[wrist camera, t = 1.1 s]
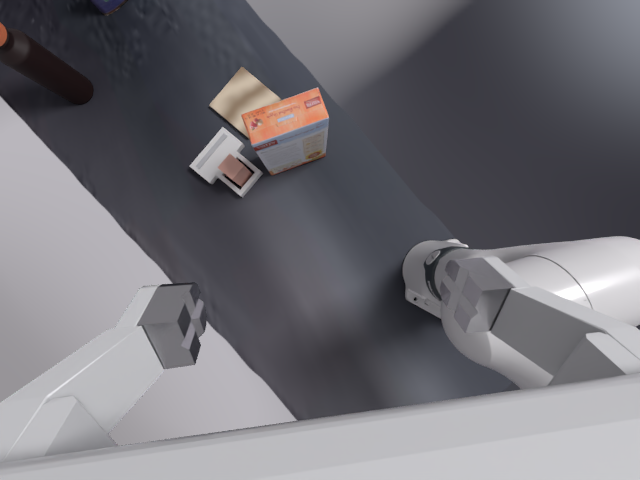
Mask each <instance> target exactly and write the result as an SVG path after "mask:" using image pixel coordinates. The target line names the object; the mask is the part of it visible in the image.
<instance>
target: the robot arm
mask: <svg viewBox="0 0 640 480" xmlns="http://www.w3.org/2000/svg"><path fill="white" fill-rule="evenodd" d="M403 278H404V281H405V285H406V289H405V298H406V300H407V301H409V302H411V303H413V304H415V305H416V306H418V307H420V308H422V309H424V310H425V311H427V312H429V313H431V314H433V315H435V316H436V317H438V318H440V319H441V321H442V325H443V328H444V330H445V332H446V334H447V336H448V338H449V339H450V341H451V342H452V344H453V345H454V346H455V347H456V348H457V349H458V350H459V351H460V352H461V353H462V354H463V355H465V356H466V357H467V358H469V359H471V360H472V361H474V362H476V363H478V364H480V365H483V366H486V367H488V368H491V369H493V370H495V371H497V372H499V373H501V374H503V375H504V376H506V377H507V378H509V379H510V380H511V381H513V382H514V383H515V384H517V386H518V387H519V388H521V389H522V390H516V391H508V392H501V393H494V394H487V395H480V396H473V397H466V398H459V399H451V400H444V401H437V402H430V403H423V404H415V405H408V406H401V407H394V408H387V409H379V410H372V411H365V412H358V413H351V414H343V415H336V416H329V417H322V418H315V419H308V420H301V421H293V422H287V423H279V424H273V425H265V426H258V427H251V428H244V429H236V430H229V431H222V432H215V433H208V434H201V435H193V436H187V437H179V438H172V439H165V440H158V441H151V442H143V443H136V444H130V445H122V446H118V445H117V444H116V443H115V442H114V440H113V439H112V438H111V437H110V436H109V435H108V434H109V433H110V431H111V430H112V429H113V428H114V427H115V426H116V425H117V424H118V422H119V421H120V420H121V419H122V418H123V417H124V416H125V415H126V414H127V412H128V411H129V410H130V409H131V408H132V407H133V406H134V405H135V403H136V402H137V401H138V400H139V399H140V398H141V397H142V396H143V394H144V393H145V392H146V391H147V390H148V389H149V388H150V387H151V385H152V384H153V383H154V382H155V381H156V380H157V379H158V378H159V376H160V375H161V374H162V373H163V372H164V369H169V368H175V367H183V366H189V365H195V363H196V360H197V356H198V353H199V349H200V346H201V344H200V342H199V339H198V338H199V337H200V336H201V335H202V334H203V333H204V332H205V327H206V320H207V313H206V307H205V304H204V302H202V301H201V300H199V296H200V293H201V292H200V289H199V286H198V284H197V283H195V282H192V283H177V284H162V285H151V286H143V287H141V288H140V289H139V290H138V291H137V293H136V295H135V296H134V298H133V299H132V301H131V303H130V304H129V306H128V307H127V309H126V310H125V312H124V314H123V315H122V317H121V318H120V320H119V321H118V323H117V325H116V326H115V328H114V329H108V330H106V331H105V332H103V333H102V334H100V335H99V336H97V337H96V338H95V339H93V340H92V341H90V342H89V343H87V344H86V345H84V346H83V347H81V348H80V349H78V350H77V351H75V352H74V353H73V354H71V355H70V356H68V357H67V358H65V359H64V360H62V361H61V362H59V363H58V364H56V365H55V366H53V367H52V368H51V369H49V370H48V371H46V372H45V373H43V374H42V375H40V376H39V377H38V378H36V379H34V380H33V381H32V382H30V383H29V384H27V385H26V386H24V387H23V388H21V389H20V390H19V391H17V392H15V393H14V394H12V395H11V396H10V397H8V398H7V399H5V400H4V401H2V402H1V403H0V480H640V330H638V329H637V328H635V326H637V325H640V240H637V239H633V238H629V237H620V236H617V237H606V238H595V239H588V240H579V241H570V242H557V243H545V244H535V245H525V246H516V247H509V248H501V249H494V250H475V249H472V248H468V246H467V245H465V244H461V243H460V242H459V241H458V240H457V239H449V240H445V241H425V242H422V243H419V244H417V245H416V246H414V247H413V248H412V249H411V250H410V251H409V253H408V254H407V256H406V258H405V260H404V263H403ZM415 297H416V300H414V298H415Z"/></svg>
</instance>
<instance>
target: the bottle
mask: <svg viewBox="0 0 640 480" xmlns="http://www.w3.org/2000/svg"><path fill="white" fill-rule="evenodd" d="M0 61H1V62H2V63H4V64H5V65H7V66H9V67H11V68H12V69H14V70H16V71H18V72H19V73H21V74H23V75H25V76H26V77H28V78H30V79H32V80H33V81H35V82H37V83H39V84H40V85H42V86H44V87H45V88H47V89H49V90H51V91H52V92H54V93H56V94H58V95H59V96H61V97H63V98H65V99H66V100H68V101H70V102H72V103H74V104H84V103H86V102H88V101H89V100H90V99H91V97H92V95H93V86H92V84H91V82H90V81H89V80H88V79H87V78H86V77H84V76H83V75H82V74H80V73H79V72H78V71H76V70H75V69H73V68H72V67H71V66H69V65H68V64H66V63H65V62H64V61H62V60H61V59H59V58H58V57H57V56H55V55H54V54H52V53H51V52H50V51H48V50H47V49H45V48H44V47H43V46H41V45H40V44H39V43H37V42H36V41H34V40H33V39H32V38H30V37H29V36H27V35H26V34H25V33H23V32H21V31H19V30H17V29H11V28H6V27H5V26H4V25H2V24H1V23H0Z"/></svg>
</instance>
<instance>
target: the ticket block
mask: <svg viewBox="0 0 640 480" xmlns="http://www.w3.org/2000/svg"><path fill="white" fill-rule="evenodd" d="M218 169H220V170H221V171H222V172H223V173H224V174H226V175H227V176H228V177H229V178H230V179H232V180H233V181H234V182H236V183H237V184H238V185H240V186H241V187H243V185H244V184H245V183H246V182H247V181H248V179H249V178H250V177H251V176H252V175H253V174H252V173H251V172H250V171H249V170H248V169H247V168H246V167H245V166H244V165H243V164H242V163H241V162H240V161H238V160H237V159H236V158H235V157H234V156H232V155H231V154H230V153H229V155H228V156H227V157H226V158H225V159H224V160H223V162H222V163H221V164H220V165H219V166H218Z"/></svg>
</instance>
